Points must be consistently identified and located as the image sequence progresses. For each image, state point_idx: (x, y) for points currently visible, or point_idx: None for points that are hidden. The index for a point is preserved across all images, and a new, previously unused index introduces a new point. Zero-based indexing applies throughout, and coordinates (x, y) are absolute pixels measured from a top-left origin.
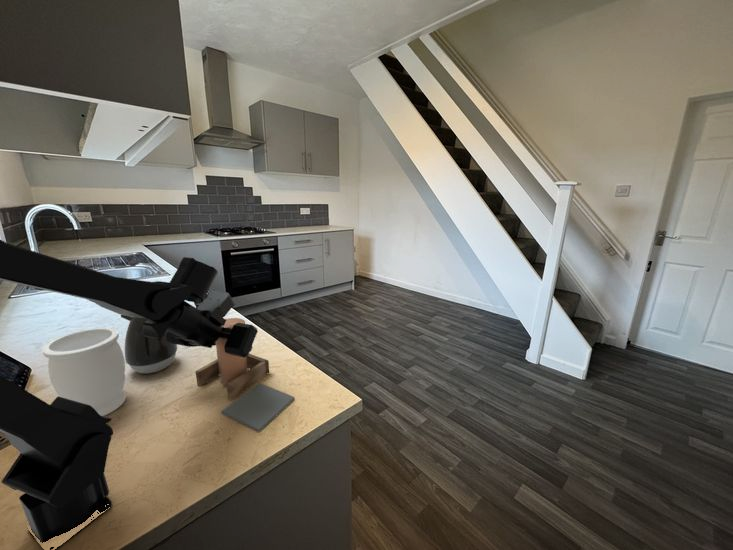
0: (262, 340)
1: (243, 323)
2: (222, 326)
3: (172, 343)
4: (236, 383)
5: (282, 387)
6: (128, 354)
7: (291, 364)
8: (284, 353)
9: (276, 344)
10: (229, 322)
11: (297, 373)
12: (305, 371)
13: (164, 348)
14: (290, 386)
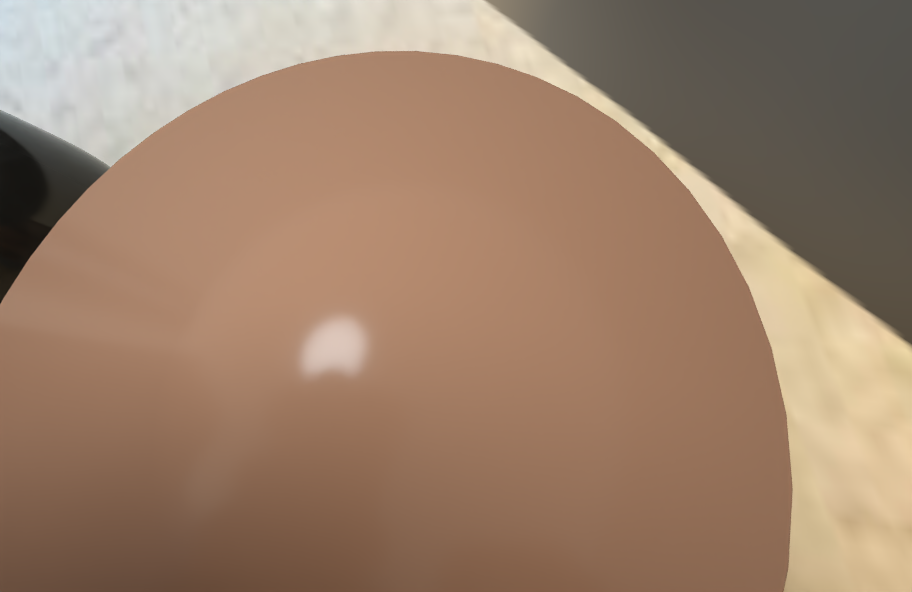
0: (525, 73)
1: (719, 344)
2: (169, 495)
3: (52, 215)
4: None
5: (801, 549)
6: None
7: (773, 299)
8: (688, 188)
9: (612, 106)
10: (310, 256)
11: (853, 401)
12: (904, 384)
13: (14, 272)
14: (857, 547)
